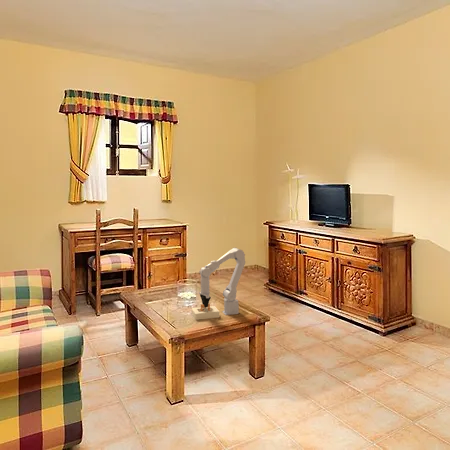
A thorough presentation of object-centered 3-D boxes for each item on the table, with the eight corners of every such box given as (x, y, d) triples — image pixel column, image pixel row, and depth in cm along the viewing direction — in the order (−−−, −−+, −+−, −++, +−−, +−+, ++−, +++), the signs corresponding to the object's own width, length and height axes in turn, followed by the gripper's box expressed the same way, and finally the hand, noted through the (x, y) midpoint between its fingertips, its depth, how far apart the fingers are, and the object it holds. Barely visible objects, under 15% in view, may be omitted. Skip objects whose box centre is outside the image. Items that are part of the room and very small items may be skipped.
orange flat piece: (209, 311, 263) (209, 303, 262) (209, 312, 262) (209, 304, 261) (200, 312, 261) (200, 304, 261) (201, 313, 260) (201, 305, 260)
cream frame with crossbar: (214, 311, 270) (214, 303, 269) (219, 317, 258) (219, 308, 258) (191, 313, 265) (191, 305, 265) (195, 319, 254) (195, 311, 253)
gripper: (196, 283, 265) (196, 303, 267) (201, 289, 252) (201, 309, 253) (206, 282, 267) (207, 302, 269) (212, 288, 254) (212, 308, 255)
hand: (205, 306), depth 261 cm, fingers open, 4 cm apart
